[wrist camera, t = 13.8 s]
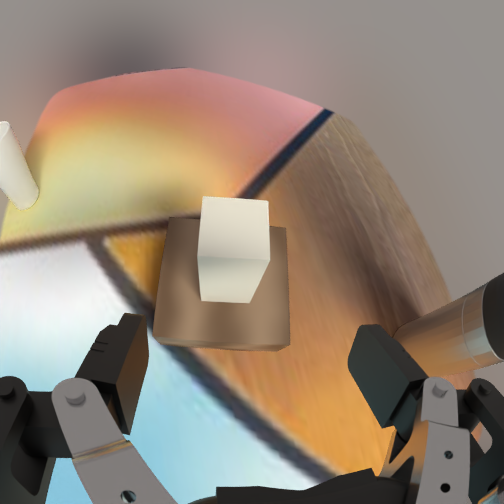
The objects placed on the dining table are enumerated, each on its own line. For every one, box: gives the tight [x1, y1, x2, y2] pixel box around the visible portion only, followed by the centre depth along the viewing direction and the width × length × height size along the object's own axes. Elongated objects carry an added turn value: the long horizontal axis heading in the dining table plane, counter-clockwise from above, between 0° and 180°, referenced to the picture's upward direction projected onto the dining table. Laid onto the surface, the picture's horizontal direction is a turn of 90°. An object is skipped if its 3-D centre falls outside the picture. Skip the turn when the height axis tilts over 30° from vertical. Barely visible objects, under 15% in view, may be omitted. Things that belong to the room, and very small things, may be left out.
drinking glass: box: [0, 121, 39, 210], centre depth 30 cm, size 7×7×15 cm
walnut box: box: [152, 217, 290, 352], centre depth 33 cm, size 14×14×6 cm
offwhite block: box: [197, 196, 270, 303], centre depth 26 cm, size 5×5×11 cm
